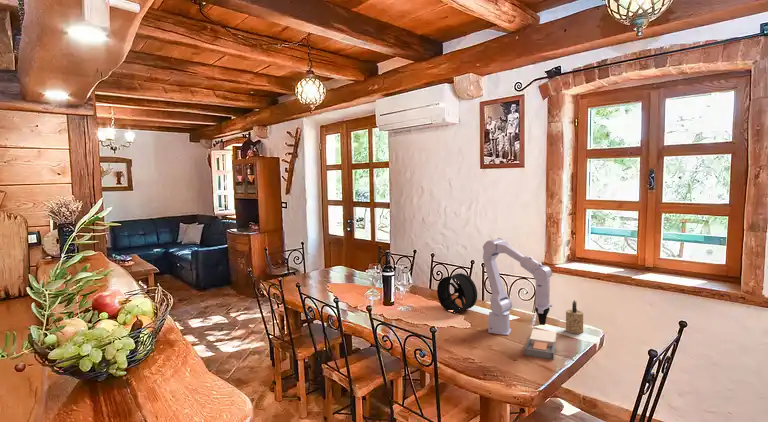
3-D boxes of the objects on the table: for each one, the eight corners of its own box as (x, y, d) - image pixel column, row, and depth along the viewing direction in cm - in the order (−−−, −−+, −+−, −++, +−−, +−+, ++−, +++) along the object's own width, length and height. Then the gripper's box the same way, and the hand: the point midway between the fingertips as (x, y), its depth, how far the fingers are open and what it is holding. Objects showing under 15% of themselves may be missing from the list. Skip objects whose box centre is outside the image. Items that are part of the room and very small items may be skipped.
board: (529, 344, 179) (529, 338, 179) (533, 334, 190) (533, 329, 189) (554, 347, 175) (554, 342, 174) (556, 337, 185) (556, 332, 185)
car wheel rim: (477, 312, 221) (477, 276, 219) (465, 317, 215) (464, 280, 213) (449, 304, 236) (448, 270, 235) (437, 308, 230) (436, 273, 228)
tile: (532, 352, 170) (532, 347, 170) (534, 346, 176) (534, 341, 176) (545, 354, 168) (545, 349, 168) (547, 347, 174) (547, 343, 174)
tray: (524, 355, 169) (524, 348, 168) (528, 343, 179) (528, 337, 179) (553, 359, 164) (553, 353, 163) (555, 347, 174) (555, 341, 174)
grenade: (585, 334, 187) (585, 302, 186) (568, 333, 189) (568, 302, 188) (580, 328, 195) (580, 297, 193) (564, 327, 196) (564, 297, 195)
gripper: (550, 299, 169) (550, 331, 171) (553, 290, 182) (553, 320, 183) (532, 298, 172) (532, 329, 174) (537, 288, 185) (536, 317, 187)
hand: (542, 324), depth 179 cm, fingers closed
